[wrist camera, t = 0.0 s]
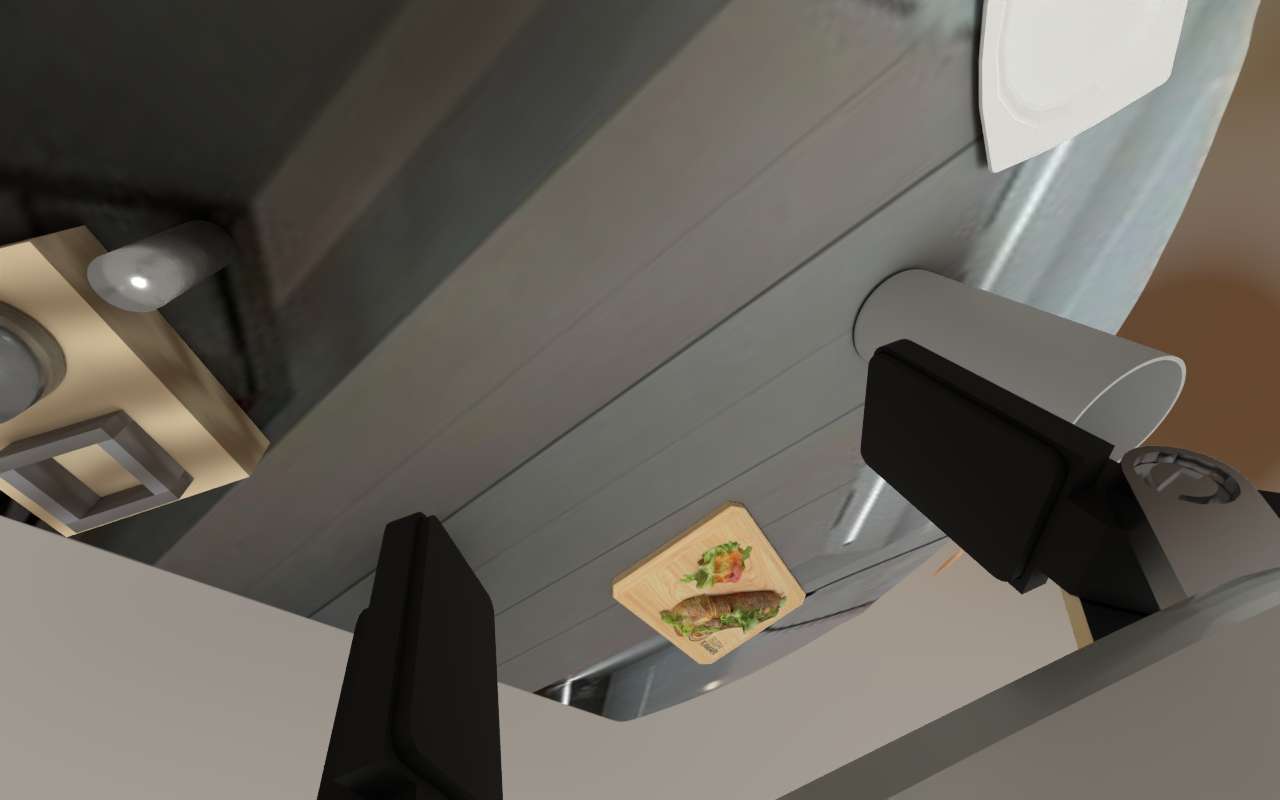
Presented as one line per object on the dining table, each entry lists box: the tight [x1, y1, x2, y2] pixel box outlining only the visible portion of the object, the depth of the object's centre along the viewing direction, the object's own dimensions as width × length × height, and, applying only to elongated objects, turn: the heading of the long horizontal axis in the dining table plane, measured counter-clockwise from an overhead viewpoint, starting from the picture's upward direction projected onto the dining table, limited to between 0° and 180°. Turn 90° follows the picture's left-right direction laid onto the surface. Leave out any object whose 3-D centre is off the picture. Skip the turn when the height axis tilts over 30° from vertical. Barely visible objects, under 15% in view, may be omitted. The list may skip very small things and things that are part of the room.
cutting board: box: [612, 501, 806, 664], centre depth 75 cm, size 35×23×8 cm
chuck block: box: [0, 225, 270, 537], centre depth 34 cm, size 20×14×8 cm
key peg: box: [87, 220, 237, 312], centre depth 31 cm, size 3×3×10 cm
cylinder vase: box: [854, 269, 1186, 463], centre depth 49 cm, size 12×12×25 cm
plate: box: [979, 0, 1188, 173], centre depth 45 cm, size 24×24×3 cm
